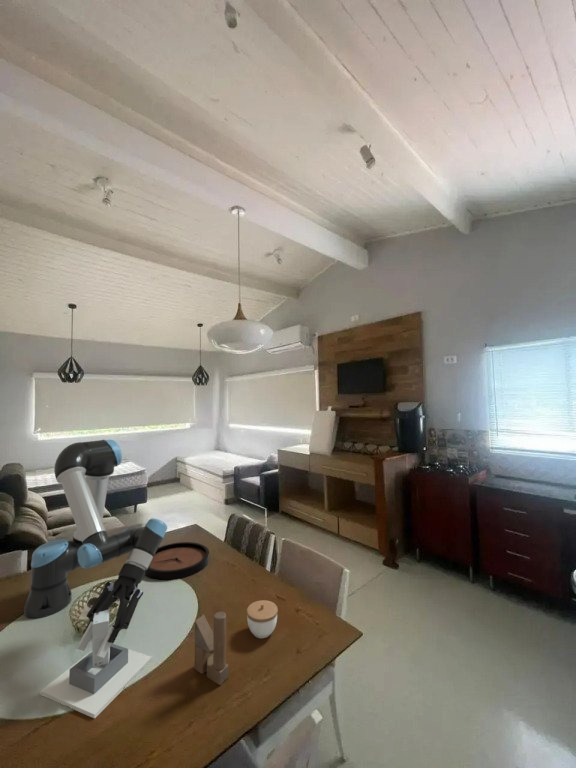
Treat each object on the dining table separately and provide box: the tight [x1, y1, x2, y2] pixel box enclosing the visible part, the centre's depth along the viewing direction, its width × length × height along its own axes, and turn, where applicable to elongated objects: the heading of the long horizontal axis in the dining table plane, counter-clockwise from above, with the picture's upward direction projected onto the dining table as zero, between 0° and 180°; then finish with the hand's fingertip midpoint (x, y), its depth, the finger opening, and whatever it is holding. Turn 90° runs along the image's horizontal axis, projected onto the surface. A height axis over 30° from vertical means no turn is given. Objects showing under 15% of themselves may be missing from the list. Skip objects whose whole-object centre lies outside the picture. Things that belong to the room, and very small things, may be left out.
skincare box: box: [91, 609, 111, 668], centre depth 97 cm, size 6×4×12 cm
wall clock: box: [144, 541, 210, 582], centre depth 164 cm, size 31×4×31 cm
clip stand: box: [40, 643, 153, 720], centre depth 97 cm, size 20×20×5 cm
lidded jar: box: [246, 599, 279, 639], centre depth 115 cm, size 11×11×9 cm
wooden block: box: [194, 611, 229, 686], centre depth 98 cm, size 4×11×18 cm, turn 57°
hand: (90, 652), depth 94 cm, fingers closed on skincare box, 7 cm apart
